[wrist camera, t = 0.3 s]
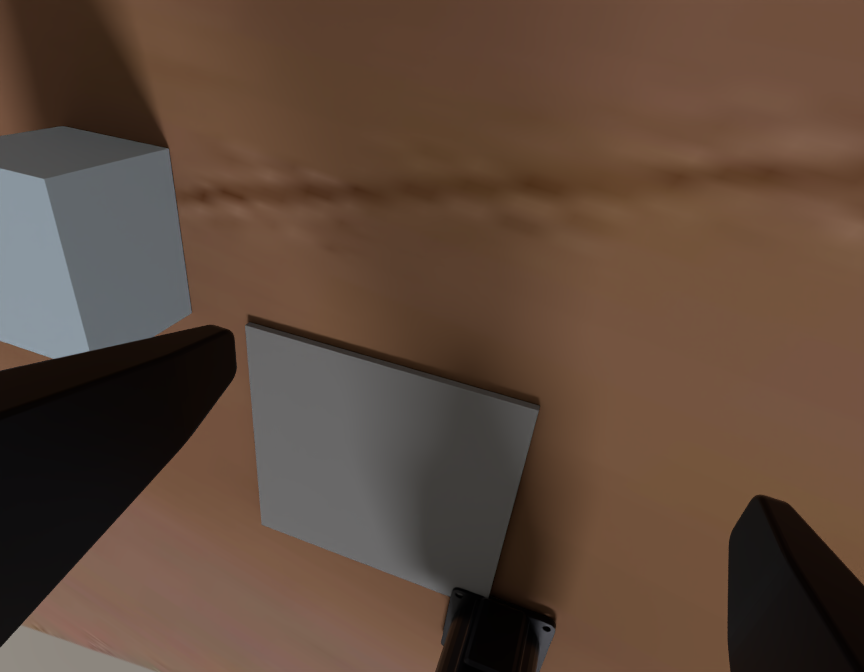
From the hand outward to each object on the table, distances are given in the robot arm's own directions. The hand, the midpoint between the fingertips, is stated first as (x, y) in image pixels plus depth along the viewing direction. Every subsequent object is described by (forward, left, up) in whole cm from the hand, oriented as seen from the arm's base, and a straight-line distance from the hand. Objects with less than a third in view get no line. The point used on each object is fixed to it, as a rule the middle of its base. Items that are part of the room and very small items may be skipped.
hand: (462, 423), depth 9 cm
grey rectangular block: (-6, +22, -14) cm, 27 cm away
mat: (-18, +7, -14) cm, 24 cm away
